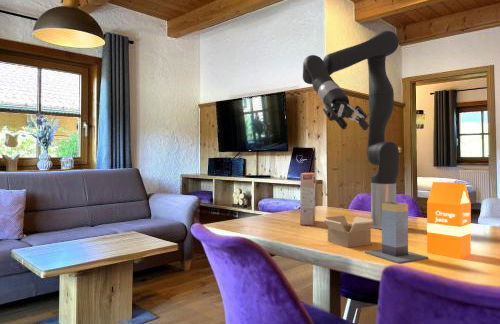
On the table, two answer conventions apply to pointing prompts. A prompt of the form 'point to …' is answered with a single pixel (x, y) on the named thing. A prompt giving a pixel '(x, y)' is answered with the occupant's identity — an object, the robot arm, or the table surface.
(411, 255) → the felt mat
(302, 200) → the cracker box
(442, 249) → the orange juice
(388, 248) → the tall two-tone pillar
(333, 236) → the carton
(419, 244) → the table surface
